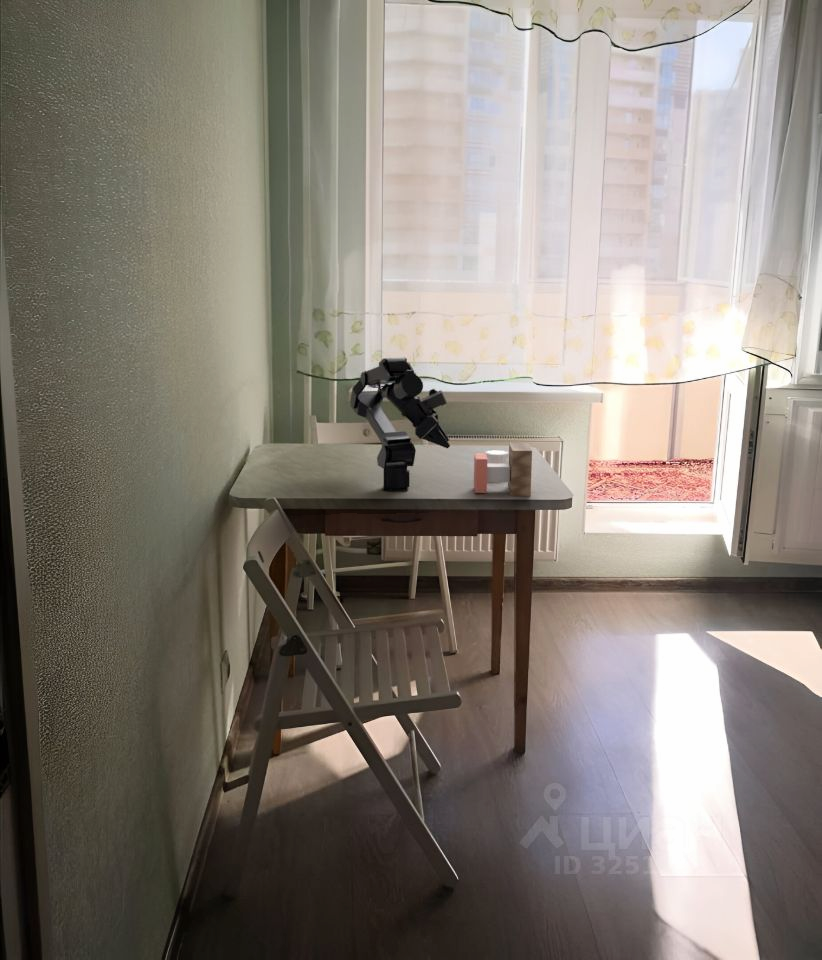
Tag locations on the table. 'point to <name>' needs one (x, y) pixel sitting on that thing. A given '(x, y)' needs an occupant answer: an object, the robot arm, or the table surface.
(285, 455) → the table surface
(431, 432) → the robot arm
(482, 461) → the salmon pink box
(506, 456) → the shot glass
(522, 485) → the block
